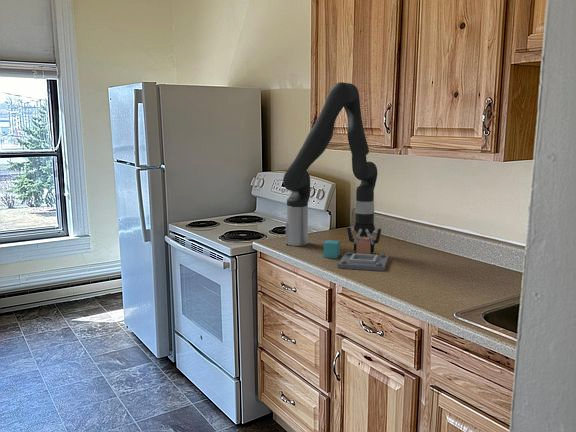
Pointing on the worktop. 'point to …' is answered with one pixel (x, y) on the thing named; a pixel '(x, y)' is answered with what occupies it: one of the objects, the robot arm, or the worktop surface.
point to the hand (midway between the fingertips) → (363, 252)
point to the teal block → (331, 249)
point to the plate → (363, 261)
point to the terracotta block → (363, 246)
